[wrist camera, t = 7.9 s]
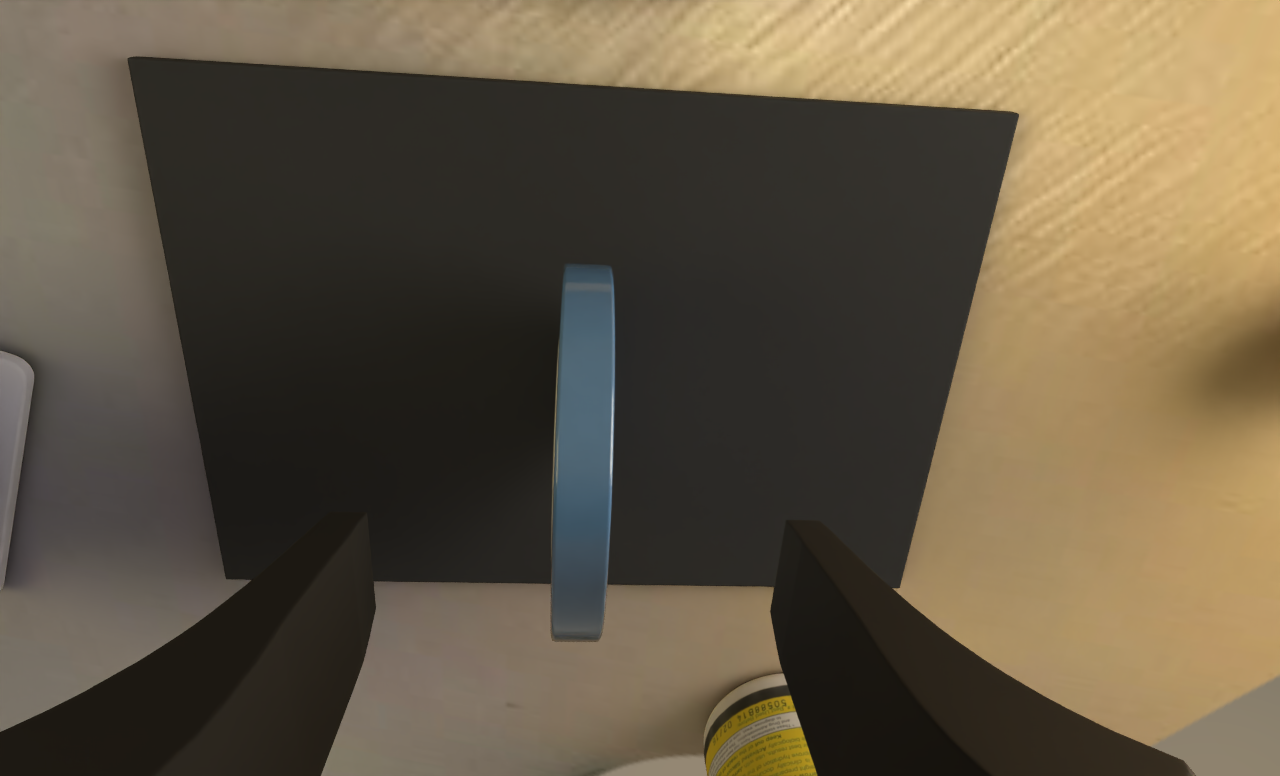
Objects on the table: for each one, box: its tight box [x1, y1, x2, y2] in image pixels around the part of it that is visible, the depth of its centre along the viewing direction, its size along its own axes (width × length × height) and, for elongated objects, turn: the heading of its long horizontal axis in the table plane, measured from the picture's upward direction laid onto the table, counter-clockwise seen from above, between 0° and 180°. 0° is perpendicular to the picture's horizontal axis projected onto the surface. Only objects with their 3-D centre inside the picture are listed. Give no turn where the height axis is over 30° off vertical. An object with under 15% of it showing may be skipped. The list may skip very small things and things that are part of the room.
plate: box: [551, 263, 615, 642], centre depth 18 cm, size 1×8×8 cm, turn 177°
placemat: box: [128, 57, 1019, 588], centre depth 22 cm, size 20×14×1 cm
